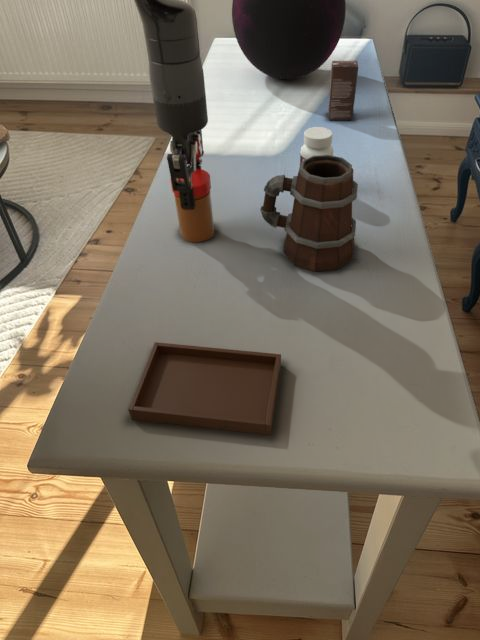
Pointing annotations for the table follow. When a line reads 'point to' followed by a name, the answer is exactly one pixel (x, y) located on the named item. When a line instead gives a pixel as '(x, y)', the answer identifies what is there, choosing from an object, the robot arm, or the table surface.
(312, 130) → the pill bottle
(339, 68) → the box
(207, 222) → the jar
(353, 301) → the table surface
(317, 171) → the mug
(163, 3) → the robot arm
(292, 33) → the dark purple ball
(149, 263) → the table surface
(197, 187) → the lid
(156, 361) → the tray
